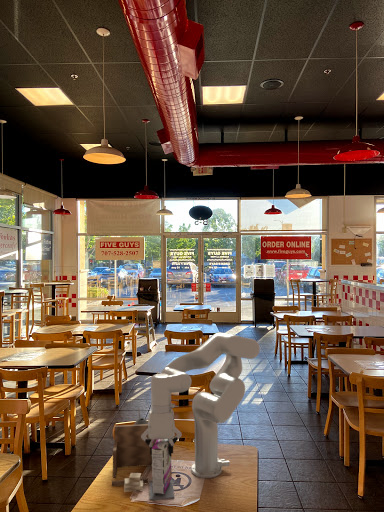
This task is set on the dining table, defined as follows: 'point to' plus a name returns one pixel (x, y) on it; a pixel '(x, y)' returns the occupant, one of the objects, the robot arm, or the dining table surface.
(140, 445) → the stand
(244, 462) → the dining table surface
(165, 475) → the candy bar box
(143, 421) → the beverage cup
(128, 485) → the offcut stack
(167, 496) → the mat
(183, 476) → the dining table surface
